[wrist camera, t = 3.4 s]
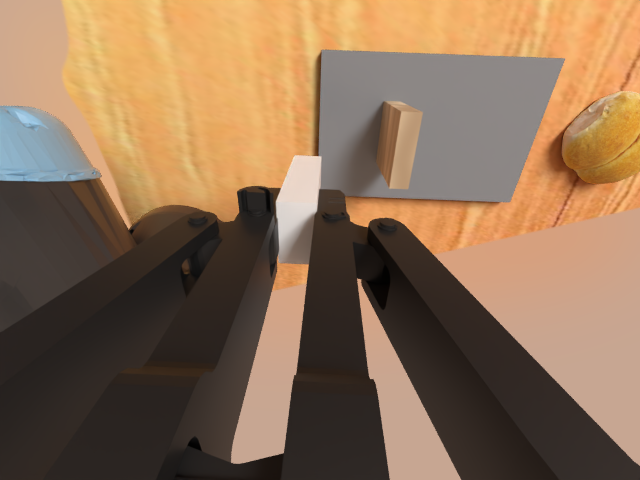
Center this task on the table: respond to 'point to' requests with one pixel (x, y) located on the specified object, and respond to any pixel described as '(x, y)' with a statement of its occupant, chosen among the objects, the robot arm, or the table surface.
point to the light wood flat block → (398, 143)
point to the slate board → (433, 120)
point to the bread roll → (605, 139)
